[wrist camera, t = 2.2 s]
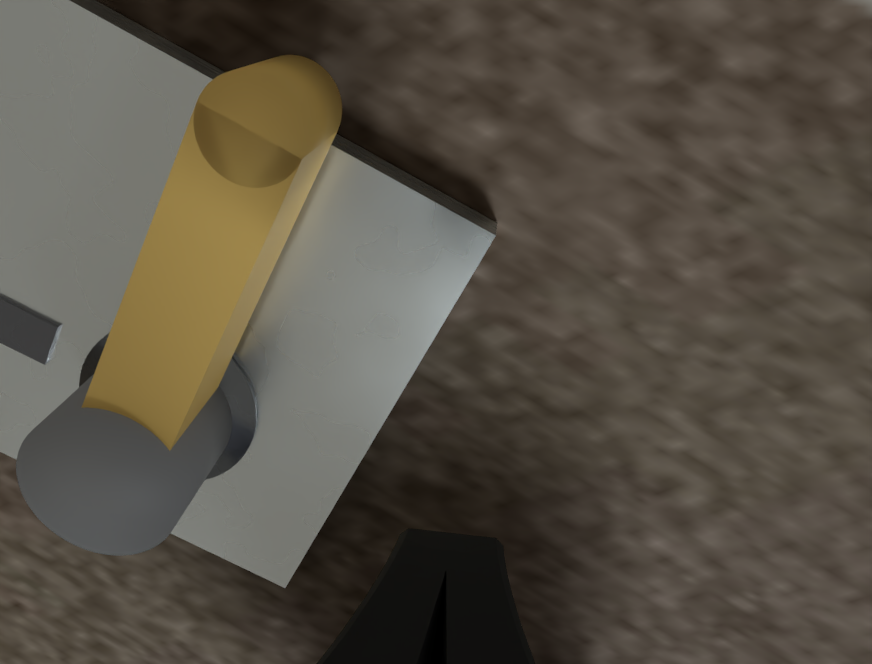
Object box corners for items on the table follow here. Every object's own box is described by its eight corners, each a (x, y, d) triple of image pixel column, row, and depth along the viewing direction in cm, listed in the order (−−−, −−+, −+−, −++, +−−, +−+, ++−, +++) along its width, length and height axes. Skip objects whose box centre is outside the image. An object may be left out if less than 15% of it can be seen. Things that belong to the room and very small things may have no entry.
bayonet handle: (203, 494, 20) (148, 580, 17) (75, 432, 20) (-2, 509, 17) (394, 105, 16) (364, 133, 13) (233, 14, 15) (165, 22, 12)
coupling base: (294, 564, 23) (283, 593, 22) (-231, 310, 21) (-272, 328, 20) (514, 193, 18) (514, 207, 17) (-159, -184, 16) (-209, -197, 15)
